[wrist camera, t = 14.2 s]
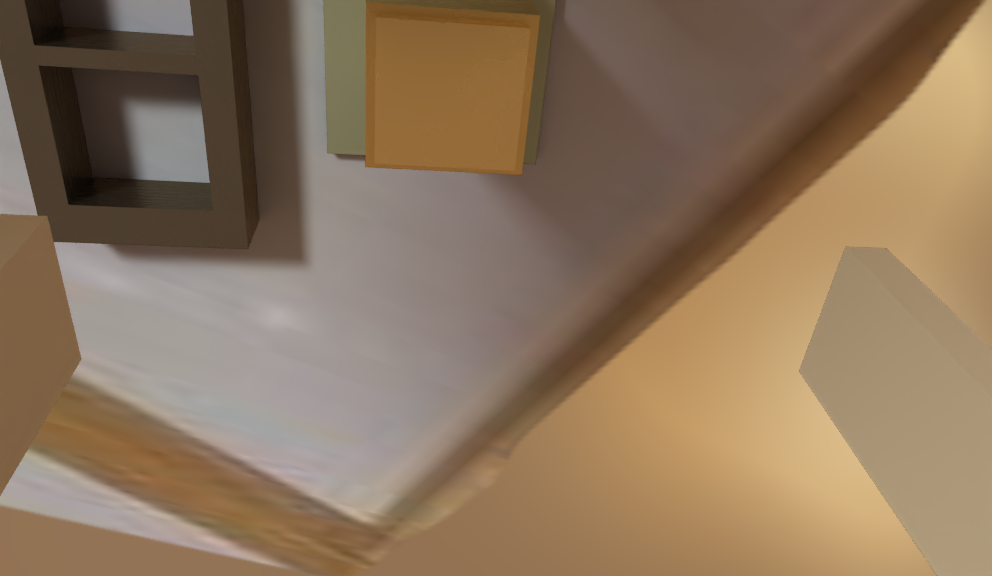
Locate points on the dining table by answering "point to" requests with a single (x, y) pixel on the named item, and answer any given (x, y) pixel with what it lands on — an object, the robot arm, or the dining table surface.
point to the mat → (350, 76)
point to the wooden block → (449, 84)
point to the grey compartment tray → (61, 142)
